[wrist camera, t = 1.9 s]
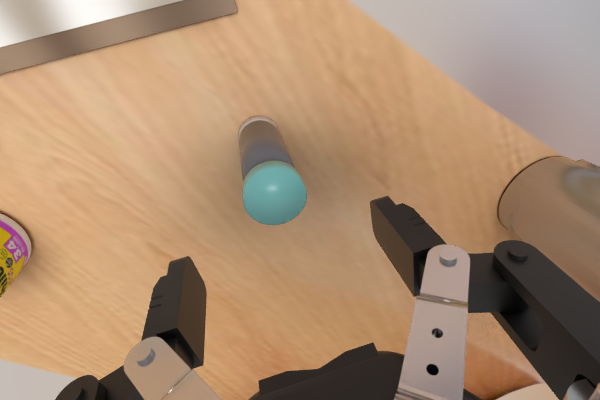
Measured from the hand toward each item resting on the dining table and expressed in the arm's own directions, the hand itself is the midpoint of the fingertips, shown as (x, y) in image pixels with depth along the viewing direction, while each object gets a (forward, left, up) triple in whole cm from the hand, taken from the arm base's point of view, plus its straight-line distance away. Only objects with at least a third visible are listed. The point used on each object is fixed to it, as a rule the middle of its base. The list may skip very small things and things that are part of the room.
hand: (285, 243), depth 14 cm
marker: (0, 0, -14) cm, 14 cm away
